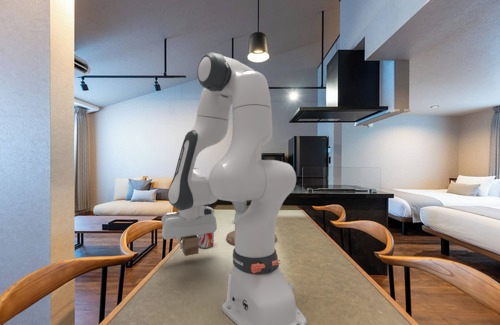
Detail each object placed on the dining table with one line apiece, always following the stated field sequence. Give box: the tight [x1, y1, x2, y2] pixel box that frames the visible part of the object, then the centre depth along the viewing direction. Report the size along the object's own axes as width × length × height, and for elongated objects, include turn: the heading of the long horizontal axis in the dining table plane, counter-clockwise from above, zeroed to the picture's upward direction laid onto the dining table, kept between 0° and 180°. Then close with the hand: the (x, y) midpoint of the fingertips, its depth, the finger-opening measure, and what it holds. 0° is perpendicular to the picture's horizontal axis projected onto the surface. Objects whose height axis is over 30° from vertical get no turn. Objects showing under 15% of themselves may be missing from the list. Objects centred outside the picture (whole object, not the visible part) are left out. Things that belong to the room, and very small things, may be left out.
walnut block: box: [181, 235, 200, 257], centre depth 87 cm, size 5×5×6 cm
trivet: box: [225, 230, 278, 247], centre depth 113 cm, size 25×25×2 cm
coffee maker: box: [230, 200, 252, 225], centre depth 141 cm, size 15×9×18 cm, turn 80°
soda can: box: [197, 232, 215, 249], centre depth 103 cm, size 7×7×12 cm
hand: (190, 246), depth 87 cm, fingers closed on walnut block, 5 cm apart
